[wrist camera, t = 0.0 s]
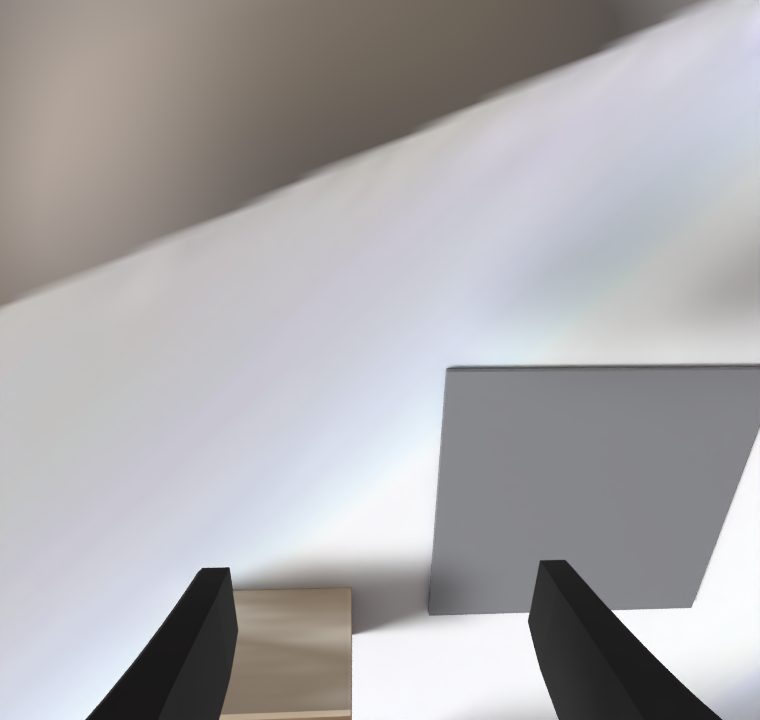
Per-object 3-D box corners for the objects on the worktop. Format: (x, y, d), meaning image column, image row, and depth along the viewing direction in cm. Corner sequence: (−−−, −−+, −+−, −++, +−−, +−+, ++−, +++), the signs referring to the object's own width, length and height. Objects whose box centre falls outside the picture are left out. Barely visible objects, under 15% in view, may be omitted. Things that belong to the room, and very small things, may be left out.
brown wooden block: (352, 634, 27) (351, 760, 22) (200, 638, 27) (161, 769, 21) (351, 586, 26) (350, 709, 20) (191, 591, 25) (146, 717, 20)
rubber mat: (688, 602, 27) (691, 607, 27) (428, 610, 27) (429, 615, 26) (775, 366, 21) (781, 369, 21) (446, 369, 21) (447, 372, 20)
